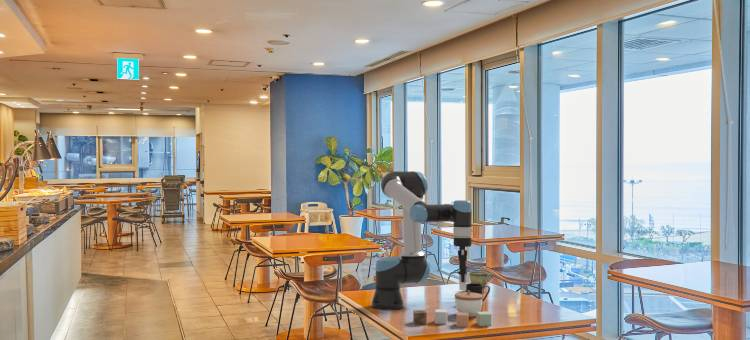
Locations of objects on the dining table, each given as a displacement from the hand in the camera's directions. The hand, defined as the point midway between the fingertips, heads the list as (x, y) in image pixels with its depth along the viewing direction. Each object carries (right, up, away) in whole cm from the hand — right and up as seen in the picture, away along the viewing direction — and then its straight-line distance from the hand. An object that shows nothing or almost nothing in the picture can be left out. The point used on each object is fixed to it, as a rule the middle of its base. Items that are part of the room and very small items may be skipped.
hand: (462, 287), depth 269 cm
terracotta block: (0, -16, 0) cm, 16 cm away
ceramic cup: (+21, -16, +78) cm, 82 cm away
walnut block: (-18, -16, +3) cm, 24 cm away
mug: (+13, -16, +42) cm, 47 cm away
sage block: (+9, -16, +2) cm, 19 cm away
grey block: (-8, -16, +5) cm, 19 cm away
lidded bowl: (+5, -16, +19) cm, 26 cm away
